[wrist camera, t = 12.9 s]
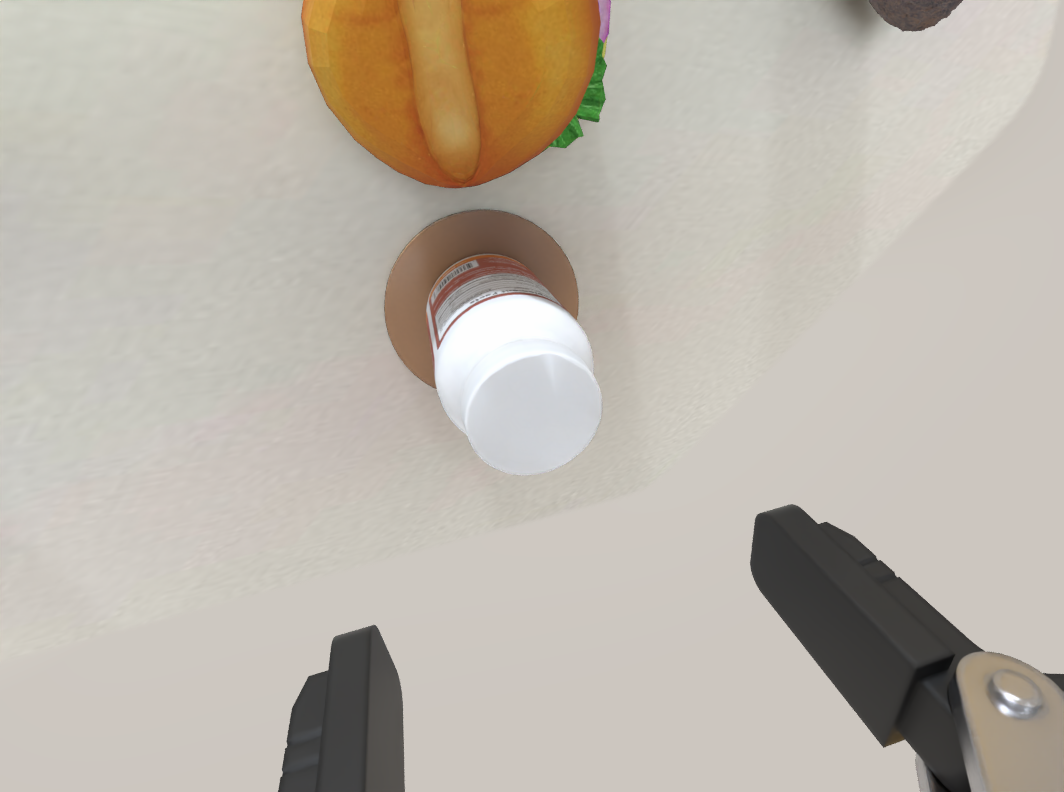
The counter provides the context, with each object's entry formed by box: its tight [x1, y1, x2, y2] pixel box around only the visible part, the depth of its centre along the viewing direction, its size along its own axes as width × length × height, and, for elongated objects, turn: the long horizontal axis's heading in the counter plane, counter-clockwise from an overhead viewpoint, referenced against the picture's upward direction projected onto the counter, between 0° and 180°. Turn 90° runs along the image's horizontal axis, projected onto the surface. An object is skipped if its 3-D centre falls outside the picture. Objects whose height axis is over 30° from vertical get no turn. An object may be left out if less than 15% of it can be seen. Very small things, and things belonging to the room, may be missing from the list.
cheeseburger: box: [301, 0, 611, 188], centre depth 18 cm, size 10×11×10 cm
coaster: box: [384, 210, 578, 389], centre depth 27 cm, size 10×10×1 cm
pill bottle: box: [426, 254, 603, 475], centre depth 22 cm, size 6×6×11 cm
